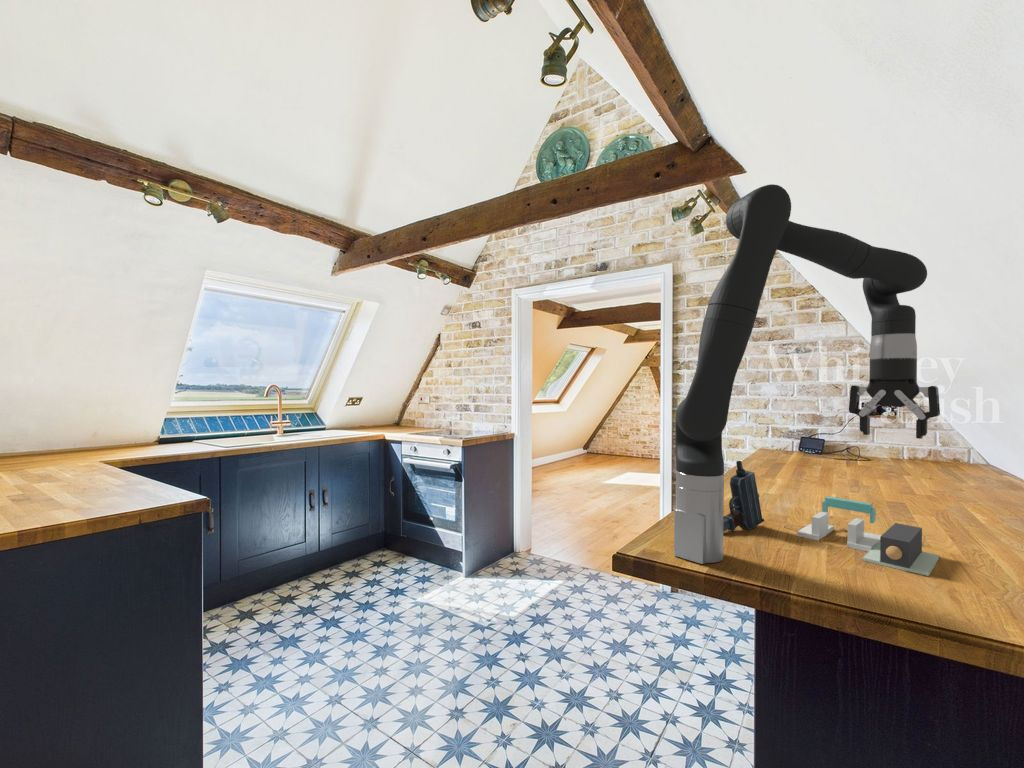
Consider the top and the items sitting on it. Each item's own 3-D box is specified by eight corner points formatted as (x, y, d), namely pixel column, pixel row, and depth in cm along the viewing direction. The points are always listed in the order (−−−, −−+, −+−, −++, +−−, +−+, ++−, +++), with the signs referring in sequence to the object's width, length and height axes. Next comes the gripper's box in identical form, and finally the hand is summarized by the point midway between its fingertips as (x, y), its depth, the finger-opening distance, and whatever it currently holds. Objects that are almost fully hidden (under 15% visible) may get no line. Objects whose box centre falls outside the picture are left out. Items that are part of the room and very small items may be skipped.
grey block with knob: (908, 569, 88) (908, 543, 88) (879, 562, 91) (879, 537, 91) (922, 550, 98) (922, 527, 98) (895, 545, 102) (896, 522, 102)
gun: (702, 475, 110) (744, 455, 116) (715, 541, 112) (755, 518, 118) (712, 478, 107) (753, 457, 114) (724, 545, 109) (764, 520, 116)
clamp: (871, 552, 99) (871, 529, 99) (797, 535, 109) (797, 514, 109) (883, 540, 107) (883, 518, 107) (813, 525, 117) (813, 506, 117)
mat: (928, 576, 87) (928, 573, 87) (862, 560, 94) (862, 557, 94) (939, 558, 96) (939, 555, 96) (878, 545, 103) (878, 542, 103)
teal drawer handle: (873, 523, 108) (873, 505, 108) (822, 513, 115) (822, 497, 115) (875, 521, 109) (875, 504, 109) (825, 512, 117) (825, 495, 117)
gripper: (942, 356, 92) (941, 438, 92) (855, 359, 103) (855, 432, 103) (936, 355, 87) (935, 441, 87) (845, 357, 98) (844, 434, 98)
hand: (891, 436), depth 95 cm, fingers open, 8 cm apart
